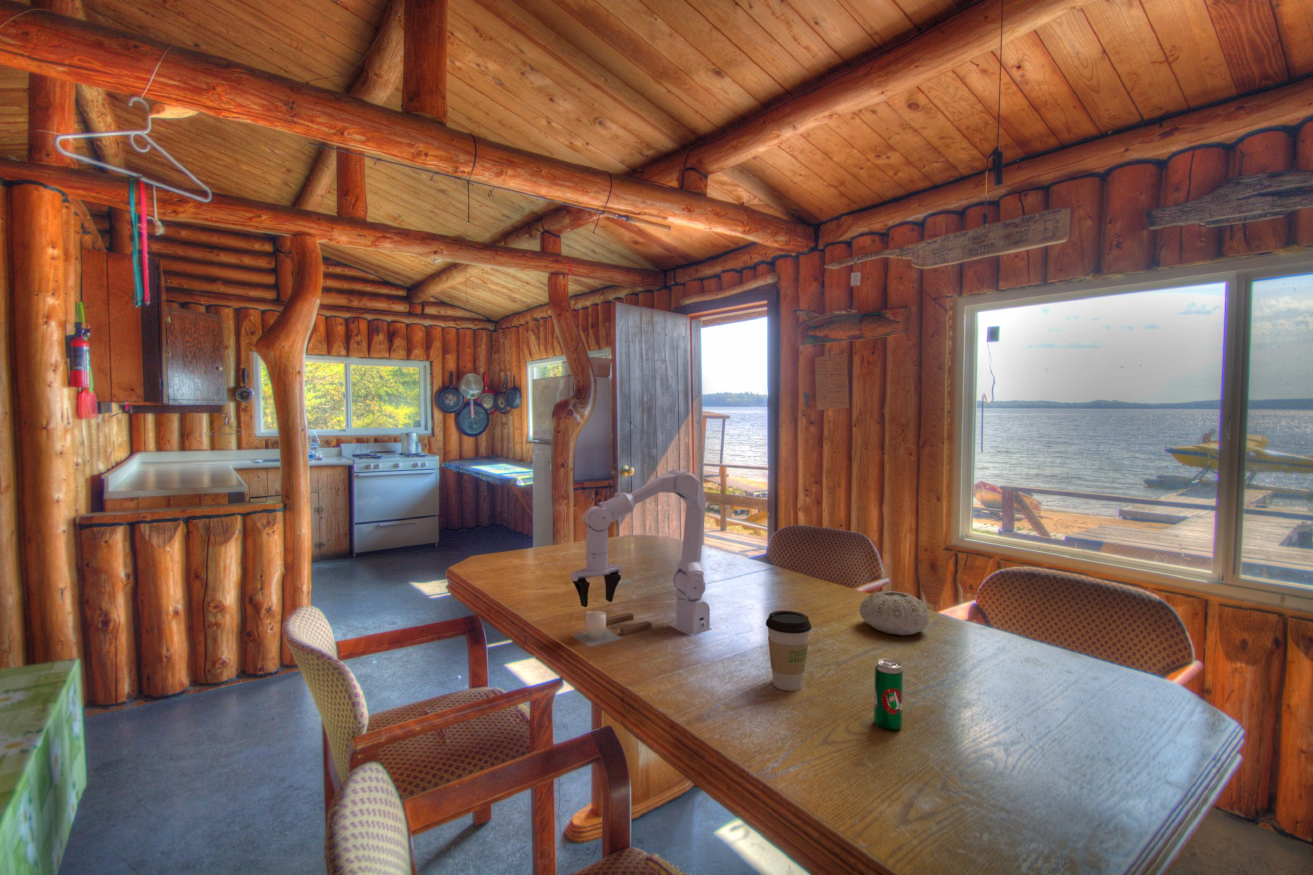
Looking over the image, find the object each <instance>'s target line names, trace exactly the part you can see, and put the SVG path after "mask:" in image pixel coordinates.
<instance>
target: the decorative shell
mask: <svg viewBox="0 0 1313 875" xmlns="http://www.w3.org/2000/svg"><path fill="white" fill-rule="evenodd" d="M928 613H929V612H928V609H927V607H926V606H925V604H924V603H923V601H922V600H921V599H918V597H916V596H915V595H913V594H911V593H908V592H905V591H901V592H900V591H894V590H892V591H891V590H882V591H881V590H880V591H878V592H874V593H871V594H870V595H868V596H865V598H863V600H862V601H861V603H860V605H859V614H860V615H861V618H862V620H864V622H866V623H867V624H868V625H870V626H871V628H874V629H876V630H878V631H879V632H881V633H885V634H889V635H898V636H910V635H915V634H917V633H920V632H922V631H924V630H925V629H926V627H927V626H928V624H929V623H928V622H929V614H928Z"/></svg>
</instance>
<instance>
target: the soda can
mask: <svg viewBox="0 0 1313 875" xmlns="http://www.w3.org/2000/svg"><path fill="white" fill-rule="evenodd" d="M873 679H874V688H873V690H874V692H873V722H874V723H875V725H876V726H877V727H879V728H880V729H882V730H885V731H890V732H891V731H893V732H894V731H898V730H899V729H900V728H901V727H902V726H903V705H904V704H903V701H904V698H903V697H904V696H903V695H904V669H903V668H902V663H900V662H899V661H897V660H894V659H892V658H880V659H877V661H876V664H875V665H874V678H873Z"/></svg>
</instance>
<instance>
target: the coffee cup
mask: <svg viewBox="0 0 1313 875" xmlns="http://www.w3.org/2000/svg"><path fill="white" fill-rule="evenodd" d="M765 626H766V627H767V633H768V636H767V639H768V640H767V641H768V650H769V651H768V652H769V659H770V661H769V662H770V668H771V674H772V683H773V686H774V687H775V688H777V689H780V690H783V691H791V692H792V691H798V690H800V689H801V688H802V687H803V680H804V674H805V670H806V669H805V668H806V664H807V655H808V648H809V647H808V646H809V634H810V631H811V630H812V623H811V622H810V620H809V617H808V616H807V615H806V614H804V613H802V612H798V611H793V610H776V611H772V612H770V613H769V614H768V618H767V619H766V620H765Z"/></svg>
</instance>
